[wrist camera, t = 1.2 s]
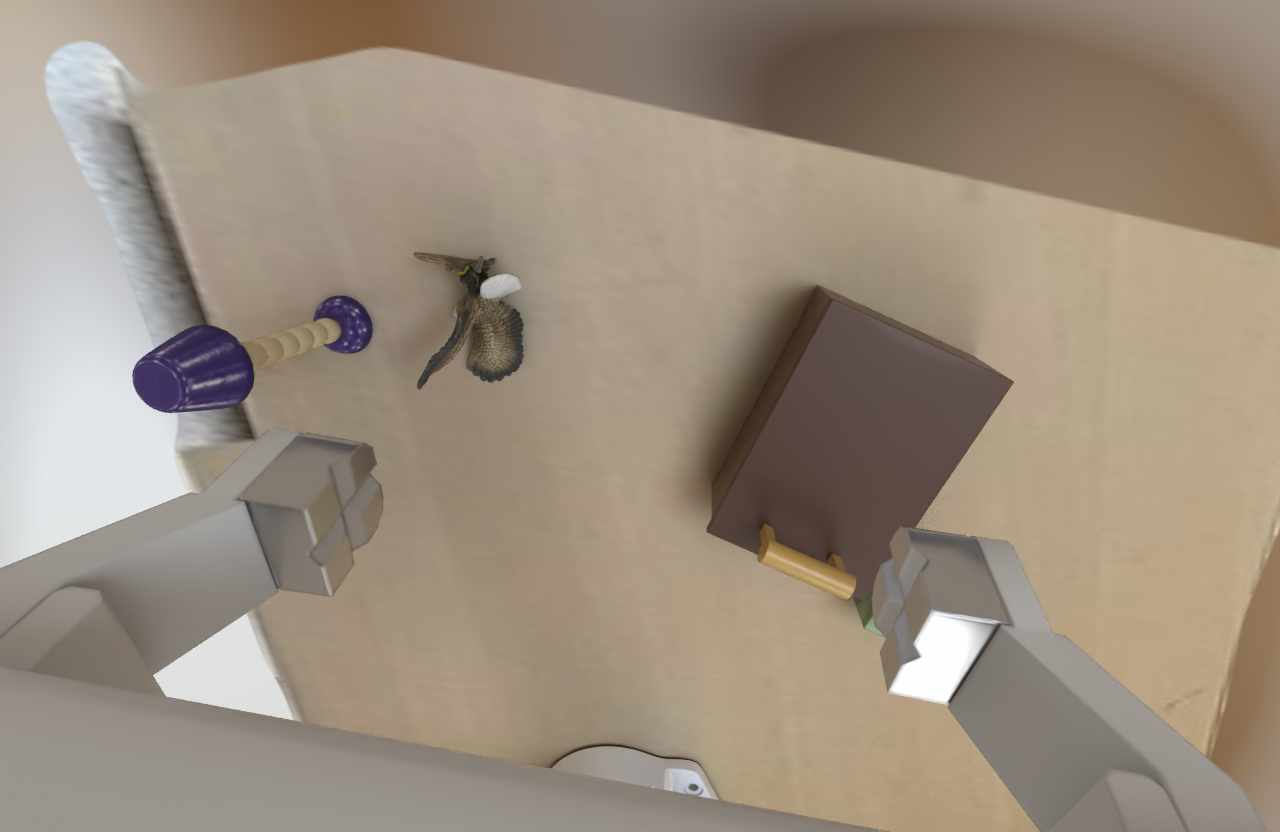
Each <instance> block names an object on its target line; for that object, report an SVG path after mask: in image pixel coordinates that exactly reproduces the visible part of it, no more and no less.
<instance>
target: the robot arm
mask: <svg viewBox="0 0 1280 832" xmlns="http://www.w3.org/2000/svg"><path fill="white" fill-rule="evenodd" d="M376 464H377V463H376V459H375V455H374V451H373V447H371V446H370V445H368V444H366V443H362V442H357V441H351V440H346V439H340V438H335V437H329V436H323V435H318V434H312V433H303V432H297V431H292V430H287V429H281V428H274V429H271V430H268V431H266V432H265V433H264V434H262V435H261V436H260V437H259V438H258V439H257V440H256V441H255V442H254V443H253V444H252V445H251V446H250V447H249V448H248V449H247V450H246V451H245V452H244V453H243V454H241V455H240V456H239V457H238V458H237V459H236V460H235V461H234V462H233V463H232V464H231V465H230V466H229V467H228V468H227V469H226V470H225V471H224V472H223V473H222V474H221V475H219V476H218V477H217V478H216V479H215V480H214V481H213V482H212V483H211V484H210V485H209V486H208V487H207V488H206V489H205V490H204V491H203V492H202V493H201V494H197V493H188V494H185V495H183V496H180V497H178V498H175V499H173V500H170V501H168V502H165V503H163V504H160V505H158V506H155V507H153V508H150V509H148V510H145V511H143V512H140V513H138V514H135V515H133V516H130V517H128V518H125V519H123V520H120V521H117V522H115V523H112V524H110V525H107V526H105V527H102V528H100V529H98V530H96V531H92V532H90V533H88V534H85V535H82V536H80V537H77V538H75V539H72V540H70V541H67V542H65V543H62V544H60V545H58V546H55V547H52V548H50V549H47V550H45V551H43V552H40V553H38V554H35V555H32V556H30V557H27V558H25V559H22V560H20V561H17V562H15V563H12V564H10V565H7V566H5V567H2V568H0V832H889V831H883V830H878V829H873V828H867V827H862V826H857V825H851V824H846V823H840V822H835V821H830V820H824V819H819V818H814V817H808V816H803V815H797V814H792V813H787V812H781V811H776V810H771V809H765V808H760V807H754V806H749V805H744V804H738V803H733V802H728V801H722V800H719V798H718V797H717V795H716V793H715V791H714V790H713V788H712V786H711V784H710V782H709V781H708V779H707V777H706V775H705V773H704V772H703V770H702V768H701V767H700V766H699V765H698V764H697V763H695V762H693V761H689V760H681V759H662V758H658V757H655V756H652V755H649V754H646V753H644V752H641V751H637V750H633V749H629V748H624V747H614V746H602V747H593V748H587V749H583V750H580V751H577V752H574V753H572V754H570V755H568V756H566V757H564V758H563V759H561V760H560V761H559V762H557V763H556V764H555V765H554V766H553V767H552V768H546V767H540V766H535V765H530V764H524V763H519V762H514V761H508V760H503V759H498V758H492V757H487V756H482V755H476V754H471V753H465V752H460V751H455V750H449V749H444V748H439V747H433V746H428V745H423V744H417V743H412V742H406V741H401V740H396V739H390V738H385V737H380V736H374V735H369V734H364V733H358V732H353V731H347V730H342V729H337V728H331V727H326V726H321V725H315V724H310V723H304V722H299V721H294V720H288V719H283V718H277V717H272V716H267V715H261V714H256V713H250V712H245V711H240V710H234V709H229V708H224V707H218V706H213V705H208V704H202V703H197V702H192V701H186V700H180V699H176V698H170V697H166V696H165V694H164V693H163V691H162V689H161V688H160V686H159V685H158V683H157V682H156V680H155V678H154V677H153V675H154V674H155V673H157V672H158V671H160V670H161V669H163V668H164V667H166V666H167V665H169V664H170V663H171V662H173V661H175V660H176V659H178V658H179V657H181V656H182V655H184V654H185V653H187V652H188V651H190V650H192V649H193V648H195V647H196V646H198V645H199V644H201V643H202V642H203V641H205V640H207V639H208V638H210V637H211V636H213V635H214V634H216V633H217V632H219V631H220V630H222V629H223V628H225V627H226V626H228V625H229V624H231V623H232V622H234V621H235V620H237V619H238V618H240V617H241V616H243V615H244V614H246V613H247V612H249V611H250V610H252V609H253V608H255V607H256V606H258V605H259V604H261V603H262V602H264V601H265V600H267V599H268V598H270V597H271V596H273V595H274V594H276V593H277V592H278V590H277V589H280V590H287V591H294V592H301V593H308V594H315V595H322V596H329V597H332V596H333V595H334V593H335V592H336V590H337V589H338V587H339V586H340V584H341V583H342V581H343V580H344V578H345V577H346V575H347V574H348V572H349V571H350V569H351V568H352V566H353V565H354V560H353V555H352V551H353V550H355V549H357V548H359V547H361V546H362V545H364V544H366V543H368V542H369V541H370V539H371V537H372V536H373V534H374V533H375V531H376V529H377V527H378V524H379V521H380V518H381V515H382V511H383V493H382V487H381V485H380V483H379V482H378V481H377V480H376V479H375V478H374V477H373V476H372V475H371V474H370V472H371V471H372V470H373V468H374V467H375V465H376ZM890 548H891V553H892V557H893V558H892V559H890V560H888V561H886V562H885V563H883V564H881V565H880V568H879V570H878V573H877V575H876V578H875V581H874V588H873V594H872V612H873V618H874V624H875V627H876V628H877V629H878V630H879V631H880V632H881V633H882V635H883V636H884V637H885V638H886V640H885V642H884V644H883V646H882V648H881V651H880V656H881V661H882V666H883V671H884V676H885V681H886V686H887V691H888V693H892V694H897V695H902V696H907V697H912V698H917V699H922V700H927V701H932V702H937V703H942V704H947V705H949V706H948V707H947V708H948V709H949V710H950V712H951V713H952V714H953V716H954V717H955V718H956V720H957V721H958V722H959V724H960V725H961V726H962V728H963V729H964V730H965V732H966V733H967V734H968V736H969V737H970V738H971V740H972V741H973V742H974V744H975V745H976V746H977V748H978V749H979V750H980V752H981V753H982V754H983V756H984V757H985V758H986V760H987V761H988V762H989V764H990V765H991V766H992V768H993V769H994V770H995V772H996V773H997V775H998V776H999V777H1000V779H1001V780H1002V781H1003V783H1004V784H1005V785H1006V787H1007V788H1008V789H1009V791H1010V792H1011V793H1012V795H1013V796H1014V797H1015V799H1016V800H1017V801H1018V803H1019V804H1020V805H1021V807H1022V808H1023V809H1024V811H1025V812H1026V813H1027V815H1028V816H1029V817H1030V819H1031V820H1032V821H1033V823H1034V824H1035V825H1036V827H1037V828H1038V829H1039V831H1040V832H1269V830H1268V829H1267V827H1266V825H1265V824H1264V822H1263V820H1262V819H1261V817H1260V815H1259V814H1258V812H1257V810H1256V809H1255V807H1254V805H1253V804H1252V802H1251V800H1250V798H1249V797H1248V795H1247V794H1246V792H1245V790H1244V789H1243V788H1242V787H1240V786H1239V785H1238V784H1237V783H1236V782H1234V781H1233V780H1232V779H1231V778H1230V777H1229V776H1228V775H1226V774H1225V773H1224V772H1223V771H1222V770H1221V769H1219V768H1218V767H1217V766H1216V765H1215V764H1214V763H1212V762H1211V761H1210V760H1209V759H1208V758H1207V757H1206V756H1204V755H1203V754H1202V753H1201V752H1200V751H1199V750H1197V749H1196V748H1195V747H1194V746H1193V745H1192V744H1190V743H1189V742H1188V741H1187V740H1186V739H1185V738H1183V737H1182V736H1181V735H1180V734H1179V733H1178V732H1176V731H1175V730H1174V729H1173V728H1172V727H1171V726H1170V725H1168V724H1167V723H1166V722H1165V721H1164V720H1163V719H1161V718H1160V717H1159V716H1158V715H1157V714H1156V713H1154V712H1153V711H1152V710H1151V709H1150V708H1149V707H1147V706H1146V705H1145V704H1144V703H1143V702H1142V701H1140V700H1139V699H1138V698H1137V697H1136V696H1135V695H1133V694H1132V693H1131V692H1130V691H1129V690H1128V689H1127V688H1125V687H1124V686H1123V685H1122V684H1121V683H1120V682H1118V681H1117V680H1116V679H1115V678H1114V677H1113V676H1111V675H1110V674H1109V673H1108V672H1107V671H1106V670H1104V669H1103V668H1102V667H1101V666H1100V665H1099V664H1097V663H1096V662H1095V661H1094V660H1093V659H1092V658H1090V657H1089V656H1088V655H1087V654H1086V653H1085V652H1083V651H1082V650H1081V649H1080V648H1079V647H1078V646H1077V645H1075V644H1074V643H1073V642H1072V641H1071V640H1070V639H1068V638H1067V637H1066V636H1065V635H1059V634H1054V633H1053V631H1052V629H1051V627H1050V625H1049V622H1048V620H1047V618H1046V616H1045V614H1044V612H1043V609H1042V607H1041V605H1040V603H1039V601H1038V599H1037V597H1036V594H1035V592H1034V590H1033V588H1032V586H1031V584H1030V581H1029V579H1028V577H1027V575H1026V573H1025V571H1024V568H1023V566H1022V564H1021V562H1020V560H1019V558H1018V555H1017V553H1016V551H1015V549H1014V547H1013V546H1012V545H1011V544H1010V543H1009V542H1008V541H1005V540H997V539H990V538H983V537H976V536H970V537H969V536H965V535H958V534H951V533H945V532H938V531H931V530H924V529H917V528H911V527H904V526H901V527H900V528H899V529H898V530H897V531H896V532H895V534H894V536H893V538H892V540H891V542H890Z"/></svg>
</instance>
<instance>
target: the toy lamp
mask: <svg viewBox="0 0 1280 832" xmlns="http://www.w3.org/2000/svg"><path fill="white" fill-rule="evenodd" d="M371 336H372V322H371V319H370V317H369V315H368V313H367V312H366V310H365V309H364V307H363V306H362V305H360V304H359V303H358V302H357V301H355V300H354V299H352V298H349V297H346V296H335V297H331V298H329V299H327V300H325V301H324V302H323V303H322V304H321V305H320V306H319V307H318V309H317V310H316V312H315V315H314V320H313V322H309V323H305V324H303V325H301V326H300V327H291V328H289V329H287V330H285V331H284V332H281V331H280V332H275V333H273V334H271V335H269V336H268V337H259V338H256V339H254V340H252V341H251V342H242V343H240V342H239V341H238V340H237V338H236V337H234V336H233V335H231V334H230V333H229V332H227V331H225V330H223V329H220V328H218V327H214V326H208V325H200V326H194V327H190V328H188V329H186V330H184V331H182V332H180V333H179V334H177V335H176V336H174V337H173V338H171V339H169V340H168V341H166V342H165V343H163V344H161V345H160V346H158V347H157V348H155V349H154V350H152V351H151V352H149V353H148V354H146V355H145V356H144V357H142V358H141V359H140V360H139V361H138V362H137V364H136V365H135V368H134V370H133V375H132V376H133V384H134V387H135V389H136V392H137V394H138V395H139V397H140V398H141V399H142V400H143V401H144V402H145V403H146V404H147V405H149V406H150V407H152V408H153V409H156V410H158V411H162V412H166V413H177V412H191V411H202V410H213V409H223V408H228V407H232V406H235V405H237V404H239V403H240V402H242V401H243V400H244V399H245V398H246V397H247V396H248V394H249V393H250V391H251V389H252V387H253V383H254V371H257V370H259V369H260V368H261V367H262V366H270V365H273V364H275V363H277V362H278V361H282V360H288V359H290V358H292V357H294V356H295V355H299V354H303V353H306V352H308V351H309V350H310V349H316V348H319V347H321V346H323V345H325V346H326V347H327V348H329V349H331V350H333V351H335V352H339V353H355V352H359V351H361V350H363V349H364V348H365V347H366V346H367V345H368V343H369V341H370V339H371Z"/></svg>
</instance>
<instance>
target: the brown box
mask: <svg viewBox="0 0 1280 832" xmlns="http://www.w3.org/2000/svg"><path fill="white" fill-rule="evenodd" d="M831 298H834V299H836V300H838V301H840V302H842V303H845V304H847V305H849V306H851V307H853V308H855V309H858V310H860V311H862V312H864V313H866V314H869V315H871V316H873V317H875V318H877V319H879V320H882V321H884V322H886V323H888V324H890V325H893V326H895V327H897V328H899V329H901V330H904V331H906V332H908V333H910V334H912V335H914V336H917V337H919V338H921V339H923V340H925V341H928V342H930V343H932V344H934V345H936V346H938V347H941V348H943V349H945V350H947V351H949V352H952V353H954V354H956V355H958V356H960V357H963V358H965V359H967V360H969V361H971V362H973V363H976V364H978V365H980V366H982V367H984V368H987V369H989V370H991V371H993V372H995V373H997V374H1000V375H1002V374H1001V373H999V372H998V371H996V370H995V369H993V368H992V367H990V366H988V365H987V364H985V363H984V362H982V361H981V360H979V359H978V358H976V357H974V356H972V355H970V354H967V353H965V352H963V351H961V350H959V349H956V348H954V347H952V346H950V345H948V344H946V343H943V342H941V341H939V340H937V339H935V338H932V337H930V336H928V335H926V334H924V333H922V332H919V331H917V330H915V329H913V328H911V327H908V326H906V325H904V324H902V323H900V322H897V321H895V320H893V319H891V318H889V317H887V316H884V315H882V314H880V313H878V312H876V311H873V310H871V309H869V308H867V307H865V306H863V305H860V304H858V303H856V302H854V301H852V300H849V299H847V298H845V297H843V296H841V295H839V294H836V293H834V292H832V291H830V290H828V289H825V288H823V287H821V286H819V285H817V287H816V289H815V291H814V293H813V295H812V296H811V298H810V300H809V302H808V304H807V306H806V308H805V310H804V312H803V313H802V315H801V317H800V319H799V321H798V323H797V325H796V327H795V329H794V330H793V332H792V334H791V336H790V338H789V340H788V342H787V344H786V346H785V348H784V349H783V351H782V353H781V355H780V357H779V359H778V361H777V363H776V365H775V366H774V368H773V370H772V372H771V374H770V376H769V378H768V380H767V382H766V383H765V385H764V387H763V389H762V391H761V393H760V395H759V397H758V399H757V400H756V402H755V404H754V406H753V408H752V410H751V412H750V414H749V416H748V417H747V419H746V421H745V423H744V425H743V427H742V429H741V431H740V433H739V434H738V436H737V438H736V440H735V442H734V444H733V446H732V448H731V450H730V451H729V453H728V455H727V457H726V459H725V461H724V463H723V465H722V467H721V469H720V470H719V472H718V474H717V476H716V478H715V480H714V482H713V484H712V517H713V515H714V513H715V512H716V510H717V508H718V506H719V504H720V502H721V500H722V499H723V497H724V495H725V493H726V491H727V489H728V487H729V486H730V484H731V482H732V480H733V478H734V476H735V475H736V473H737V471H738V469H739V467H740V465H741V463H742V462H743V460H744V458H745V456H746V454H747V452H748V450H749V449H750V447H751V445H752V443H753V441H754V439H755V438H756V436H757V434H758V432H759V430H760V428H761V426H762V425H763V423H764V421H765V419H766V417H767V415H768V414H769V412H770V410H771V408H772V406H773V404H774V402H775V401H776V399H777V397H778V395H779V393H780V391H781V389H782V388H783V386H784V384H785V382H786V380H787V378H788V377H789V375H790V373H791V371H792V369H793V367H794V365H795V364H796V362H797V360H798V358H799V356H800V354H801V352H802V351H803V349H804V347H805V345H806V343H807V341H808V340H809V338H810V336H811V334H812V332H813V330H814V328H815V327H816V325H817V323H818V321H819V319H820V317H821V315H822V314H823V312H824V310H825V308H826V306H827V304H828V303H829V301H830V299H831ZM1002 376H1004V375H1002ZM1004 377H1006V376H1004ZM1006 378H1007V377H1006Z"/></svg>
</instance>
